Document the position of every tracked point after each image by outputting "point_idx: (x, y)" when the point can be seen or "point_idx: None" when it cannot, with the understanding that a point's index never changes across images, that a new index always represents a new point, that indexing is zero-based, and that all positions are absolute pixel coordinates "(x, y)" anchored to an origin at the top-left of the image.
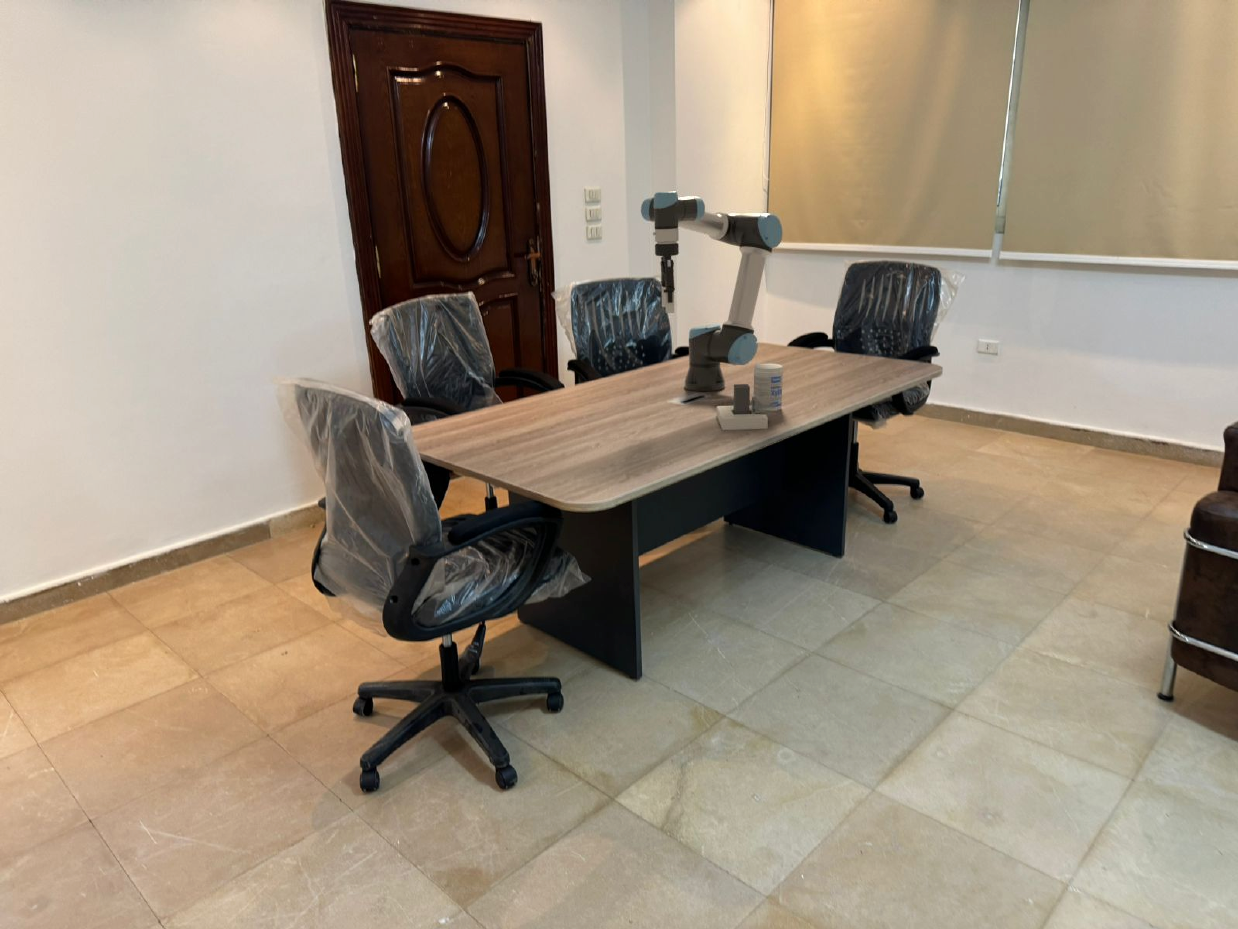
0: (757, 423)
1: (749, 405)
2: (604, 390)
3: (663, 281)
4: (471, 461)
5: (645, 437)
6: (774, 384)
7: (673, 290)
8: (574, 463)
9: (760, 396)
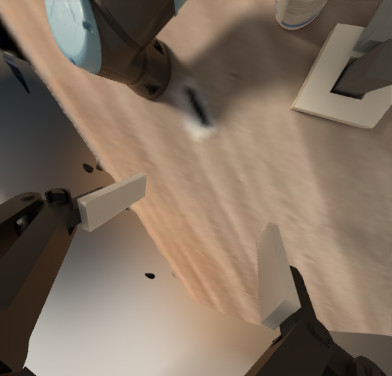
0: None
1: (328, 47)
2: None
3: (65, 249)
4: None
5: (317, 217)
6: None
7: (371, 368)
8: (350, 291)
9: (320, 5)
